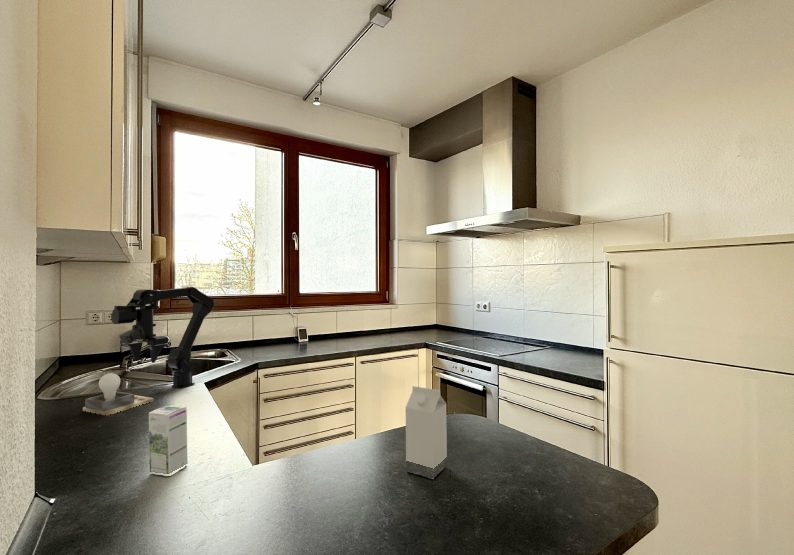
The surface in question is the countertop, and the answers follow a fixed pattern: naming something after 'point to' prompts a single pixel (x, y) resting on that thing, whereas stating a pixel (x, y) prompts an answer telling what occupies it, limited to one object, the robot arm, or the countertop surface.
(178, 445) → the syrup box
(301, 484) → the countertop surface
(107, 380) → the lightbulb
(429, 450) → the milk carton
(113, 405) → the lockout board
